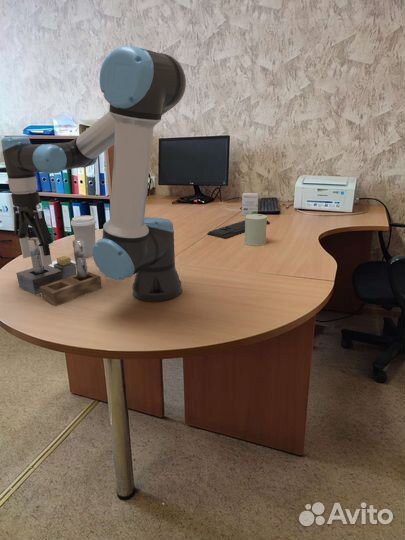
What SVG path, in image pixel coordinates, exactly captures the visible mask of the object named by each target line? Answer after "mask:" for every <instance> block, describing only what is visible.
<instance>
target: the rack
mask: <svg viewBox="0 0 405 540" xmlns="http://www.w3.org/2000/svg"><path fill="white" fill-rule="evenodd" d="M99 289H102V280H101V275H99V274H95V273H93V272H90V271H88V279H86V280H83V281H79V280H78V276H77V273H76V275H73V276H70V277H68V278H65V279H62V280H59V281H56V282H53V283H50V284H47V285H44V286H41V287H40V290H41V293H40V295H41V299H42V300H44V301H45V302H47V303H49V304H51V305H53V306H55V307H56V306H60V305H61V304H64V303H66V302H69V301H72V300H73V299H76V298H79V297H83V296H85V295H87V294H89V293H92V292H94V291H97V290H99Z"/></svg>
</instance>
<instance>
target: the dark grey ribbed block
mask: <svg viewBox="0 0 405 540" xmlns="http://www.w3.org/2000/svg"><path fill="white" fill-rule="evenodd" d="M270 223H271V222H270V221H269V220H267V223H266V226H268V225H270ZM242 234H245V219H244V220H242V221H238V222H235V223H232V224H228V225H226V226H222V227H219V228H216V229H213V230H209V231H208V232H207V235H208V236H210V237H215V238H219V239H225V240H227V239H230V238H234V237H237V236H239V235H242Z"/></svg>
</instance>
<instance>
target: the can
mask: <svg viewBox="0 0 405 540" xmlns="http://www.w3.org/2000/svg"><path fill="white" fill-rule="evenodd" d="M244 220H245V233H244V244H245V245H246V246H252V247H260V246H265V245H266V244H267V225H266V223H267V221H268V216H267V215H265V214H261V213H258V214H249V215H246V216H244Z"/></svg>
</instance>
